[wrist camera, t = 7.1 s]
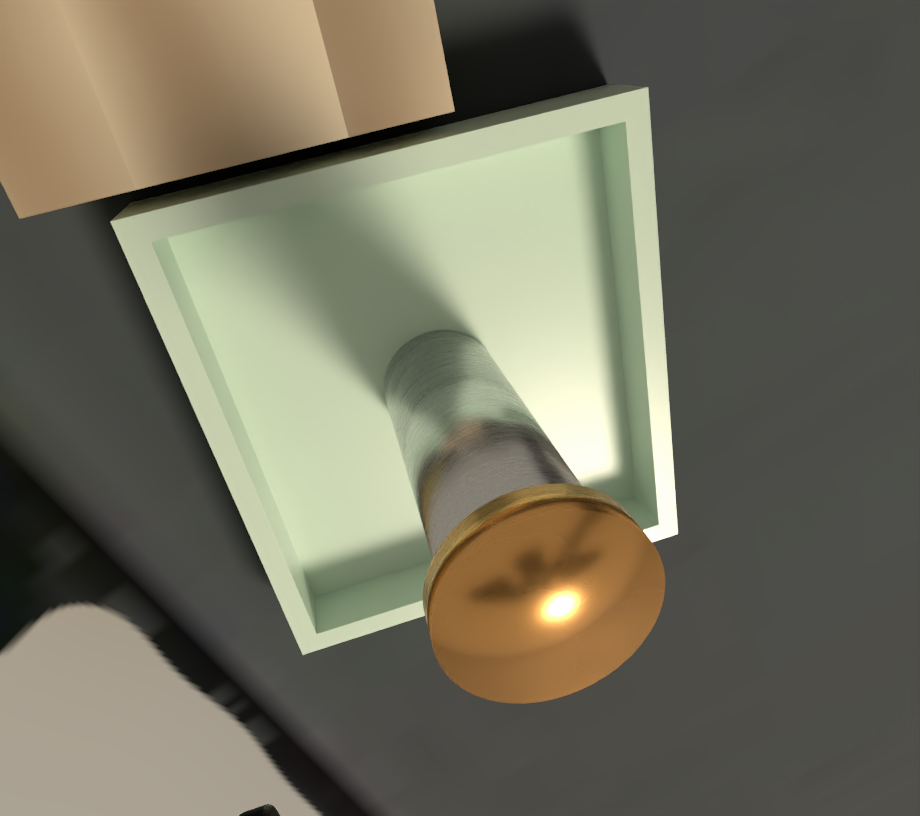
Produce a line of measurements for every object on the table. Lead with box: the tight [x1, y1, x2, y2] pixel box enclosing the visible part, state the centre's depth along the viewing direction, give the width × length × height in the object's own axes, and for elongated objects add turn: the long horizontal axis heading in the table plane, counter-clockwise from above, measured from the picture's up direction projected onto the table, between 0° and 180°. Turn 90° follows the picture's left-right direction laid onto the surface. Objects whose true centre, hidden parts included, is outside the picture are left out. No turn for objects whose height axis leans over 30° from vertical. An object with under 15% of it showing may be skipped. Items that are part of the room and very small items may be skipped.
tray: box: [110, 84, 678, 655], centre depth 19 cm, size 12×13×2 cm
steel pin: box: [384, 330, 665, 703], centre depth 15 cm, size 4×4×9 cm
